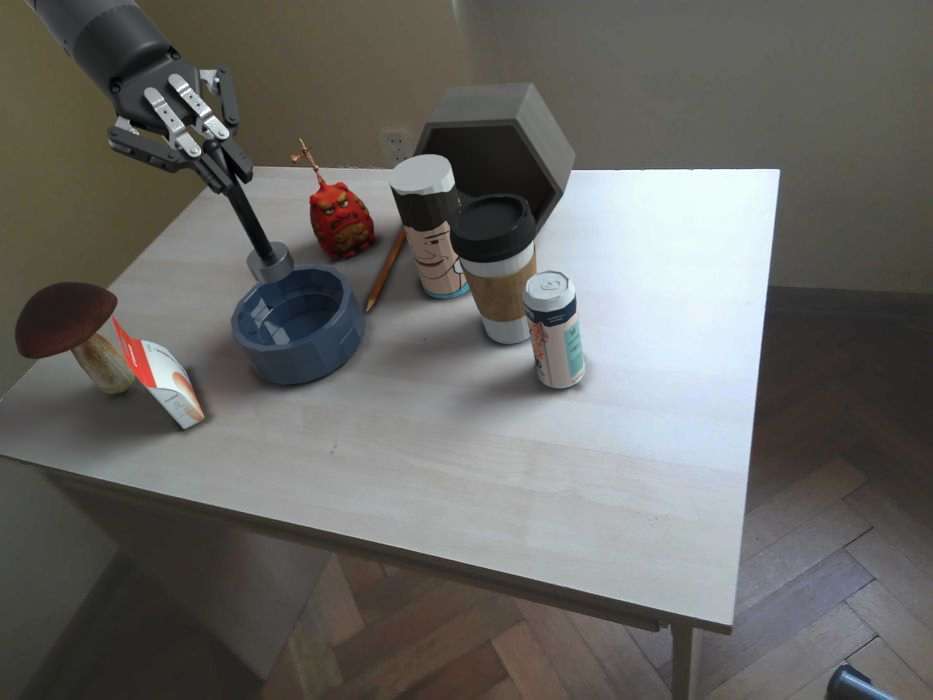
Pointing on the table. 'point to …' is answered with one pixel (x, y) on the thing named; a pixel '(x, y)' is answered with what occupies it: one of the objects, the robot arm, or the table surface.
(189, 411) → the ink box
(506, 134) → the grey hexagonal shelf
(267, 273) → the rod on round base
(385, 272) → the pencil
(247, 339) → the bowl
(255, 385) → the table surface
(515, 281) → the coffee cup
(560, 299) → the beer can
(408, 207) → the cup
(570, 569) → the table surface
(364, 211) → the red clay folk toy
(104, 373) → the decorative mushroom
